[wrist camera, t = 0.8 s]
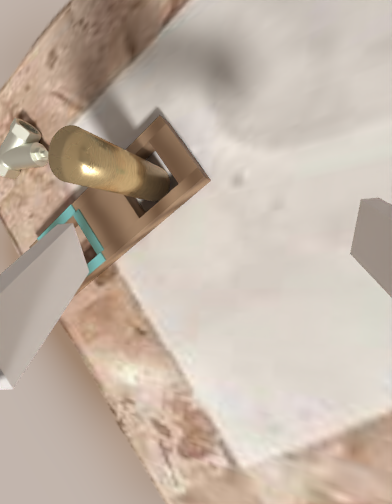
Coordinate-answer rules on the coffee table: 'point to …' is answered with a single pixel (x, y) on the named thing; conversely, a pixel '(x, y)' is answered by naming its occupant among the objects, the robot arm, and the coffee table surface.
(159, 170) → the brass peg
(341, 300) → the coffee table surface
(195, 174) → the walnut rail
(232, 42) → the coffee table surface
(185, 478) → the coffee table surface
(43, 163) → the pipe fitting
